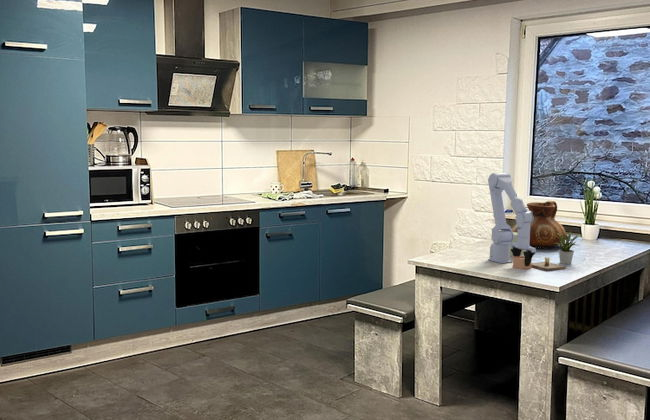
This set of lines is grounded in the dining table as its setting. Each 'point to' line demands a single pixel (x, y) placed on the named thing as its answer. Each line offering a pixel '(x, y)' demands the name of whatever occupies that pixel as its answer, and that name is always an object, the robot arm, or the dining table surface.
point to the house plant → (566, 248)
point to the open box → (520, 262)
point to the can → (516, 243)
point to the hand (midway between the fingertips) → (522, 264)
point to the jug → (544, 225)
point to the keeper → (547, 265)
